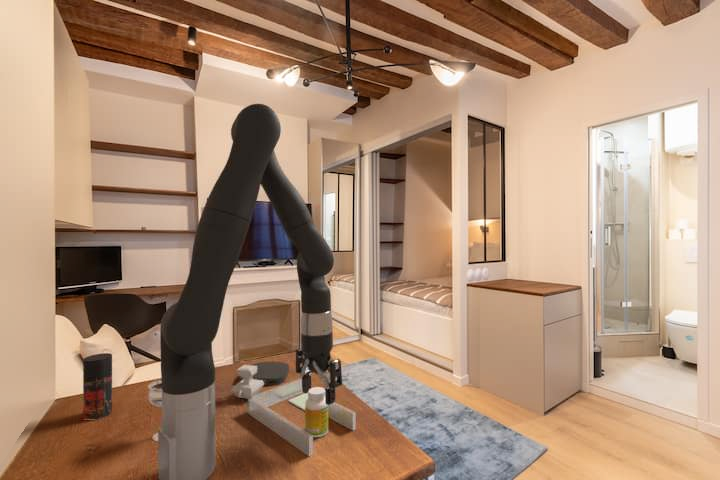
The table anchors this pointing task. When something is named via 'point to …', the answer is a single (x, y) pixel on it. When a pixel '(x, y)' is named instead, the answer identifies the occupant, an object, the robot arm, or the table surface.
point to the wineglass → (155, 397)
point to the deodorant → (97, 386)
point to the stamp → (247, 382)
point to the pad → (299, 401)
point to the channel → (286, 428)
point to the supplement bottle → (316, 412)
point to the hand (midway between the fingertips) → (318, 397)
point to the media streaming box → (271, 372)
